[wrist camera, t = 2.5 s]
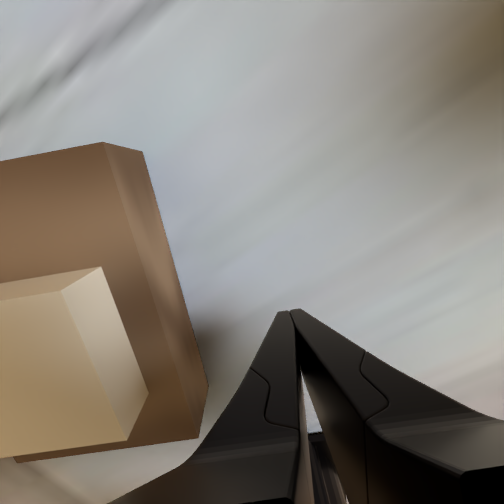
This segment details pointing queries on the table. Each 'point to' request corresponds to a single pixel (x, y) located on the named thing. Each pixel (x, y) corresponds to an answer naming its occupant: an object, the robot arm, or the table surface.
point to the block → (65, 365)
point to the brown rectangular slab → (108, 271)
